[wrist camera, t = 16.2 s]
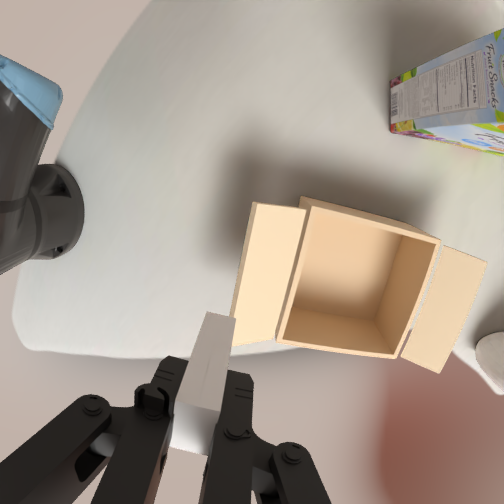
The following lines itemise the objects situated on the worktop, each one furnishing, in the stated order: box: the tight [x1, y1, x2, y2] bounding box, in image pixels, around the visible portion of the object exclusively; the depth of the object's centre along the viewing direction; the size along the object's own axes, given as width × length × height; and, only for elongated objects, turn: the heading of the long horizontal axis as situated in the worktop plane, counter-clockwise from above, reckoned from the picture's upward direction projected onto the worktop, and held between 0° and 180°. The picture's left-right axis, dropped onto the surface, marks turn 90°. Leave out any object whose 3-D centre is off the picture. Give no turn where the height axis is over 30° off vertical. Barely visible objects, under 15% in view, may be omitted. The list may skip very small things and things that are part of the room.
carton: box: [275, 196, 441, 359], centre depth 38 cm, size 16×16×10 cm
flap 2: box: [401, 245, 487, 373], centre depth 32 cm, size 6×15×1 cm
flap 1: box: [229, 202, 306, 347], centre depth 32 cm, size 6×15×1 cm
